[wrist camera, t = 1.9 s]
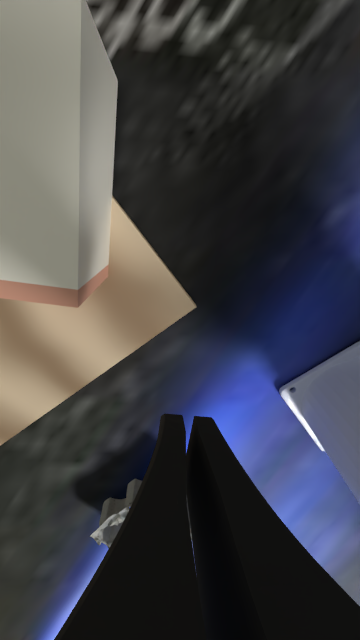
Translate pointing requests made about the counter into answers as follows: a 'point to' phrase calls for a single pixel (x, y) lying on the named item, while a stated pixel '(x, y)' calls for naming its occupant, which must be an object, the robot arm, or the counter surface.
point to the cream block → (54, 152)
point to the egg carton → (116, 515)
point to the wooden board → (84, 329)
